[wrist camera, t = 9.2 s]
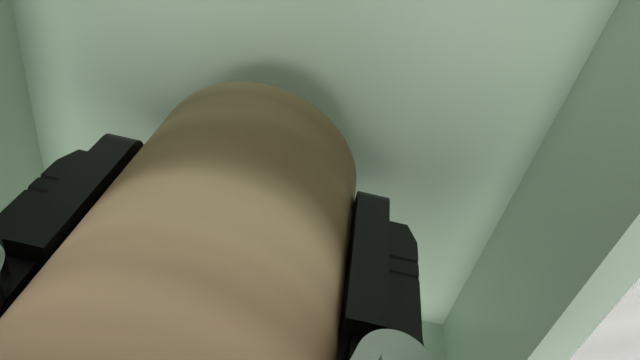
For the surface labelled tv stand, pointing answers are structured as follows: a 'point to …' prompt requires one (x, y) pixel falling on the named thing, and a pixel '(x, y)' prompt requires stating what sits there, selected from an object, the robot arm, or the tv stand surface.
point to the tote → (389, 131)
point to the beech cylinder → (205, 243)
